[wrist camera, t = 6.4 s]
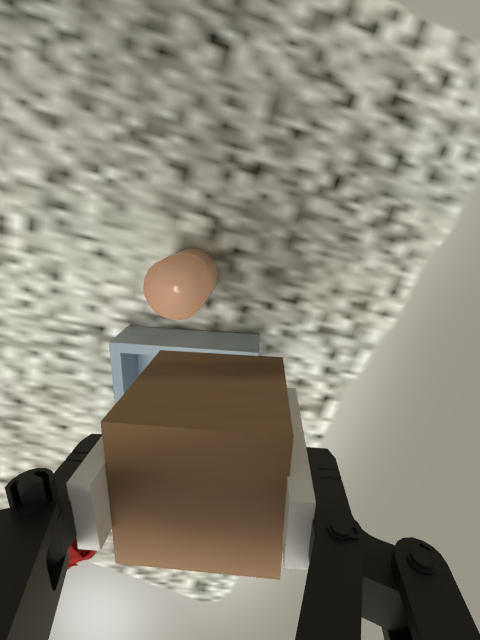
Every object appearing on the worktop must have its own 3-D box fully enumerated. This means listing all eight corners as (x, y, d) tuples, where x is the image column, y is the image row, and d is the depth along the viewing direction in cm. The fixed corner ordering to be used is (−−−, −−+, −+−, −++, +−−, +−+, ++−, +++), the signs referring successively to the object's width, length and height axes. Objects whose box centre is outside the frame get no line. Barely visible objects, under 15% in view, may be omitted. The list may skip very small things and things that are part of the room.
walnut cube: (160, 350, 16) (100, 422, 10) (282, 357, 15) (293, 436, 10) (164, 451, 17) (115, 563, 12) (274, 460, 17) (279, 579, 11)
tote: (128, 325, 34) (108, 342, 30) (259, 334, 33) (258, 352, 29) (138, 460, 40) (123, 490, 36) (250, 470, 39) (248, 502, 35)
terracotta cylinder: (167, 246, 31) (141, 256, 25) (218, 249, 31) (206, 260, 24) (169, 296, 33) (145, 318, 26) (217, 299, 33) (205, 321, 26)
